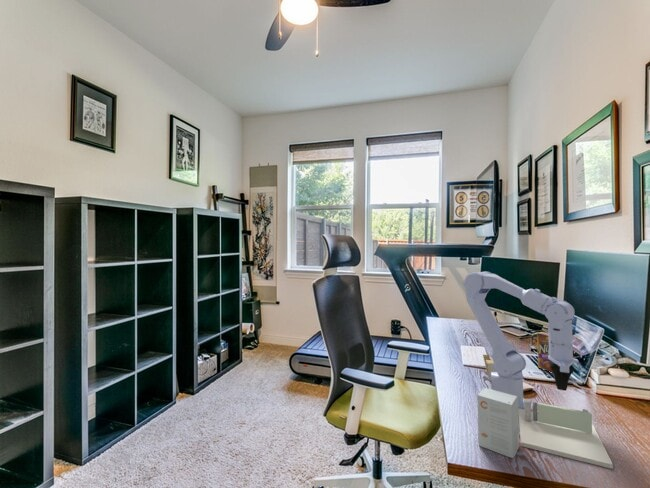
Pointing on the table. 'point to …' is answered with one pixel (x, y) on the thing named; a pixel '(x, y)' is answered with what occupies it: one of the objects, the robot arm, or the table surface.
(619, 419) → the table surface
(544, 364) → the candy box
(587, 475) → the table surface
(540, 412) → the gate
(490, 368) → the model
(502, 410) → the small box
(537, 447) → the gate frame
